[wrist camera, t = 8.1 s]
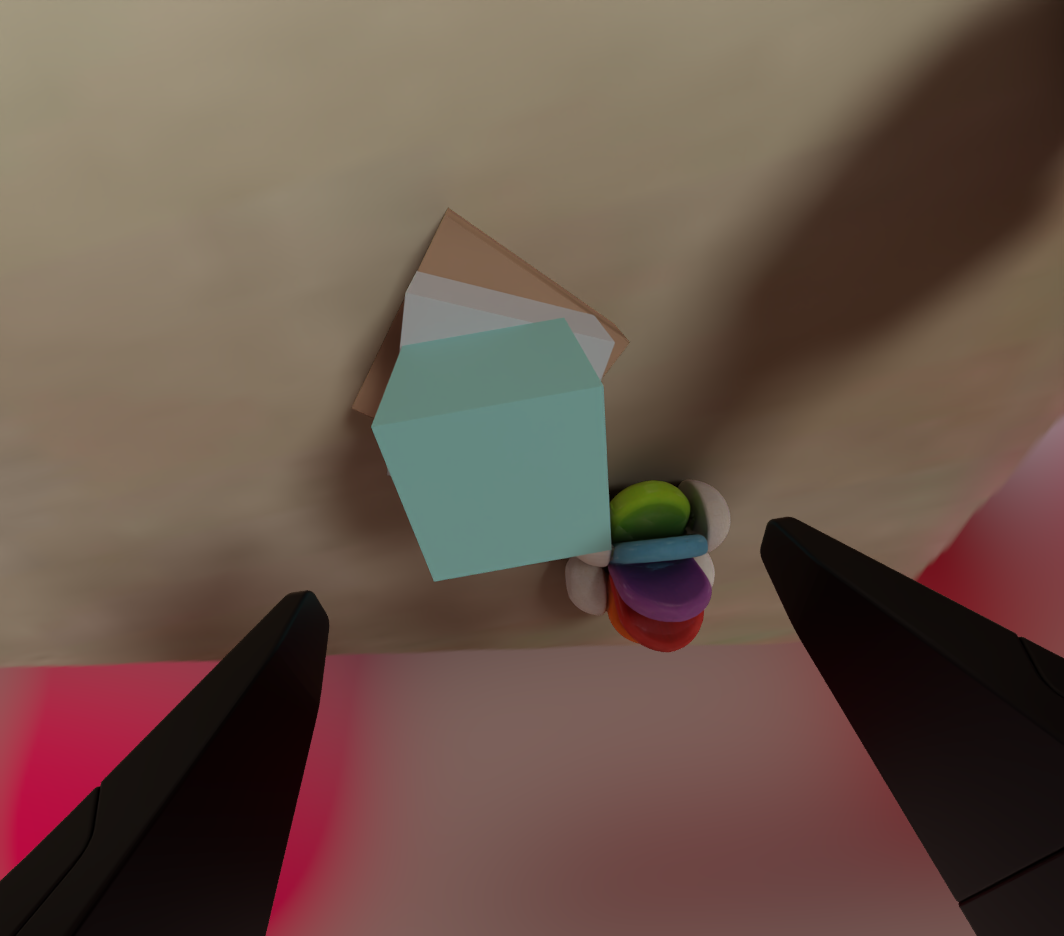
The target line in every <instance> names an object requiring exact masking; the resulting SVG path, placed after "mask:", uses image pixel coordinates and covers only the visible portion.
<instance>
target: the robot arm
mask: <svg viewBox="0 0 1064 936" xmlns="http://www.w3.org/2000/svg"><path fill="white" fill-rule="evenodd" d="M760 553H761V558H762V561H763V563H764V565H765V567H766V570H767V572H768V574H769V576H770V578H771V580H772V583H773V585H774V587H775V589H776V591H777V593H778V596H779V598H780V600H781V602H782V604H783V606H784V609H785V611H786V613H787V615H788V617H789V619H790V621H791V623H792V625H793V627H794V629H795V631H796V633H797V635H798V636H799V638H800V640H801V642H802V643H803V645H804V647H805V648H806V650H807V652H808V653H809V655H810V657H811V658H812V660H813V662H814V663H815V665H816V667H817V668H818V670H819V672H820V673H821V675H822V677H823V678H824V680H825V682H826V683H827V685H828V687H829V688H830V690H831V692H832V693H833V695H834V697H835V699H836V700H837V702H838V703H839V705H840V707H841V709H842V710H843V712H844V714H845V715H846V717H847V719H848V720H849V722H850V724H851V725H852V727H853V729H854V730H855V732H856V734H857V735H858V737H859V739H860V740H861V742H862V744H863V745H864V747H865V749H866V750H867V752H868V754H869V755H870V757H871V759H872V760H873V762H874V764H875V766H876V767H877V769H878V771H879V772H880V774H881V776H882V777H883V779H884V781H885V782H886V784H887V785H888V787H889V789H890V790H891V792H892V794H893V796H894V797H895V799H896V800H897V802H898V804H899V806H900V807H901V809H902V811H903V812H904V814H905V816H906V817H907V819H908V821H909V822H910V824H911V826H912V827H913V829H914V831H915V832H916V834H917V836H918V837H919V839H920V841H921V842H922V844H923V846H924V848H925V849H926V851H927V853H928V854H929V856H930V858H931V859H932V861H933V863H934V864H935V866H936V868H937V869H938V871H939V872H940V874H941V876H942V878H943V879H944V881H945V882H946V884H947V886H948V888H949V889H950V891H951V893H952V894H953V896H954V898H955V899H956V901H958V902H959V907H960V908H961V910H962V912H963V914H964V915H965V917H966V919H967V920H968V922H969V923H970V925H971V927H972V929H973V930H974V932H975V934H976V935H977V936H1064V658H1063V657H1060V656H1059V655H1056V654H1055V653H1053V652H1050V651H1049V650H1047V649H1044V648H1043V647H1041V646H1039V645H1037V644H1035V643H1033V642H1032V641H1029V640H1028V639H1026V638H1024V637H1018V636H1017V634H1016V633H1014V632H1012V631H1010V630H1008V629H1006V628H1004V627H1002V626H1001V625H999V624H997V623H995V622H993V621H991V620H989V619H987V618H985V617H983V616H981V615H980V614H978V613H975V612H974V611H972V610H970V609H968V608H966V607H964V606H962V605H960V604H958V603H957V602H955V601H953V600H951V599H949V598H947V597H945V596H943V595H941V594H939V593H937V592H935V591H933V590H931V589H929V588H928V587H926V586H924V585H922V584H920V583H918V582H916V581H914V580H912V579H910V578H909V577H907V576H905V575H903V574H901V573H899V572H897V571H895V570H893V569H891V568H889V567H887V566H886V565H884V564H882V563H880V562H878V561H876V560H874V559H872V558H870V557H868V556H866V555H864V554H863V553H861V552H859V551H857V550H855V549H853V548H851V547H849V546H847V545H845V544H843V543H841V542H840V541H838V540H836V539H834V538H832V537H830V536H828V535H826V534H824V533H822V532H820V531H818V530H817V529H815V528H813V527H811V526H809V525H807V524H805V523H803V522H801V521H799V520H797V519H795V518H793V517H783V518H777V519H772V520H770V521H769V522H768V523H767V526H766V530H765V533H764V537H763V540H762V544H761V548H760ZM328 633H329V619H328V616H327V614H326V612H325V610H324V609H323V607H322V605H321V604H320V602H319V601H318V599H317V597H316V596H315V594H314V593H313V592H312V591H308V590H307V591H300V592H293V593H290V594H288V595H286V596H285V597H284V598H283V599H282V600H281V601H280V602H279V603H278V604H277V605H276V606H275V607H274V608H273V609H272V610H271V611H270V612H269V613H268V614H267V615H266V616H265V617H264V618H263V619H262V620H261V621H260V622H259V623H258V624H257V625H256V626H255V627H254V628H253V629H252V630H251V631H250V632H249V633H248V634H247V635H246V636H245V637H244V638H243V639H242V640H241V641H240V642H239V643H238V644H237V645H236V646H235V647H234V648H233V649H232V650H231V651H230V652H229V653H228V654H227V655H226V656H225V657H224V658H223V659H222V660H221V661H220V662H219V663H218V665H217V666H216V667H215V668H214V669H213V670H212V671H211V672H210V673H209V674H208V675H207V676H206V677H205V678H204V679H203V680H202V681H201V682H200V683H199V684H198V685H197V686H196V687H195V688H194V689H193V690H192V691H191V692H190V693H189V694H188V695H187V696H186V697H185V698H184V699H183V700H182V701H181V702H180V703H179V704H178V705H177V706H176V707H175V708H174V709H173V710H172V711H171V712H170V713H169V714H168V715H167V716H166V717H165V718H164V719H163V720H162V721H161V722H160V723H159V724H158V725H157V726H156V727H155V728H154V729H153V730H152V731H151V732H150V733H149V734H148V735H147V736H146V737H145V738H144V739H143V740H142V741H141V742H140V743H139V744H138V745H137V746H136V747H135V748H134V749H133V750H132V751H131V752H130V753H129V754H128V756H127V757H125V759H124V760H122V761H121V763H120V764H119V765H118V766H117V767H116V768H115V769H114V770H113V771H112V772H111V773H110V774H109V775H108V776H107V777H106V778H105V779H104V780H103V781H102V782H101V786H100V787H96V788H95V789H94V790H93V791H92V792H91V793H90V794H89V795H88V796H87V797H86V798H85V799H84V800H83V801H82V802H81V803H80V804H79V805H78V806H77V807H76V808H75V809H74V810H73V811H72V812H71V813H70V814H69V815H68V816H67V817H66V818H65V819H64V820H63V821H62V822H61V823H60V824H59V825H58V826H57V827H56V828H55V829H54V830H53V831H52V832H51V833H50V834H48V835H47V836H46V838H45V839H43V840H42V841H41V842H40V843H39V844H38V846H36V847H35V848H34V849H33V850H32V851H31V852H30V853H29V854H28V855H27V856H26V857H25V858H24V859H23V860H22V861H21V862H20V863H19V864H18V865H17V866H15V867H14V869H12V870H11V871H10V872H9V873H8V874H7V875H6V876H5V877H4V878H3V879H2V880H1V881H0V936H265V935H266V931H267V927H268V923H269V919H270V914H271V910H272V906H273V901H274V897H275V893H276V889H277V884H278V880H279V876H280V872H281V867H282V862H283V859H284V855H285V850H286V846H287V842H288V838H289V833H290V829H291V825H292V821H293V816H294V812H295V807H296V803H297V799H298V795H299V791H300V786H301V782H302V778H303V774H304V769H305V765H306V761H307V757H308V752H309V748H310V744H311V740H312V735H313V731H314V727H315V723H316V718H317V713H318V709H319V703H320V697H321V690H322V682H323V673H324V666H325V658H326V649H327V641H328Z"/></svg>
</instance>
